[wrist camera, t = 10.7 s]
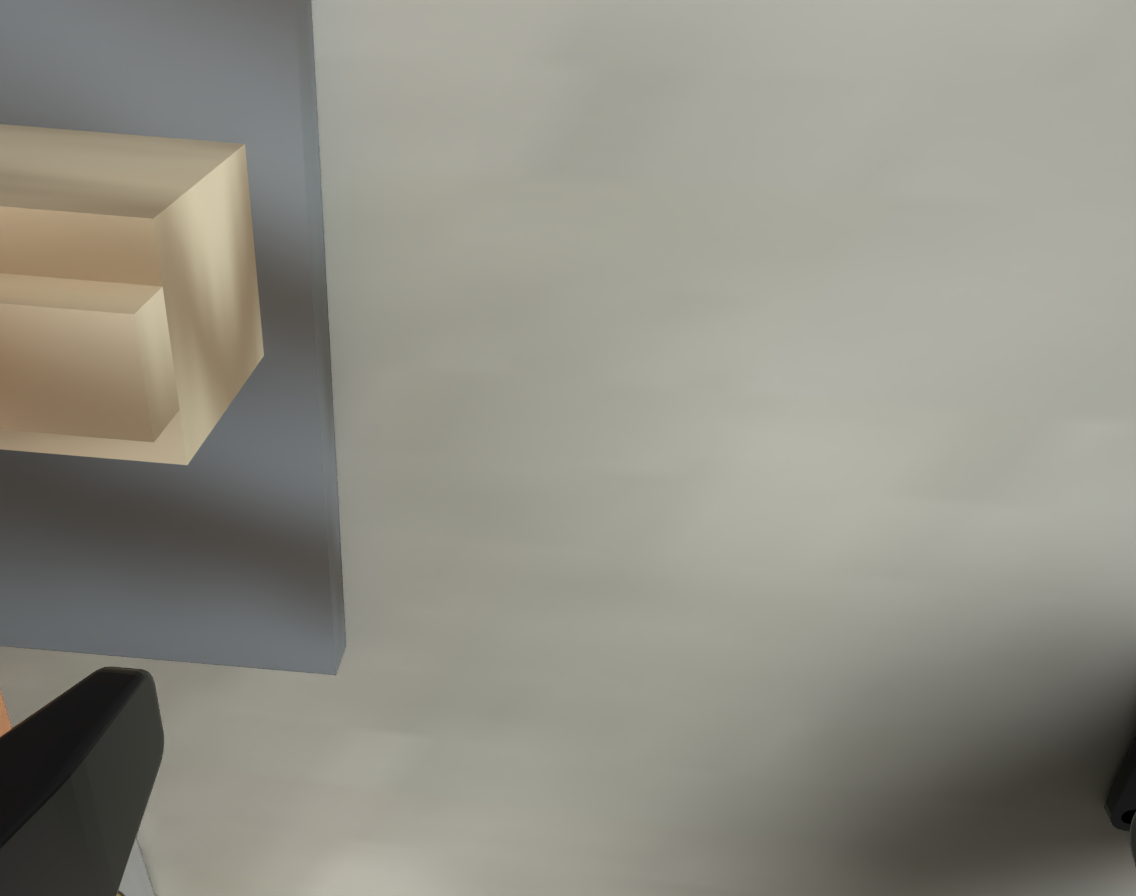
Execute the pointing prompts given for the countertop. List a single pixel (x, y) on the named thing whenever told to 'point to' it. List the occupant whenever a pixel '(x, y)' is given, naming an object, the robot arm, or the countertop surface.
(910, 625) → the countertop surface
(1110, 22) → the countertop surface
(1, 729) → the bar
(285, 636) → the ridge
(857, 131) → the countertop surface
